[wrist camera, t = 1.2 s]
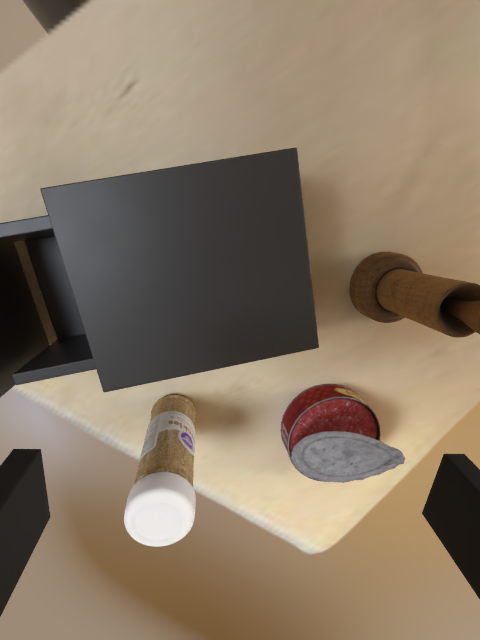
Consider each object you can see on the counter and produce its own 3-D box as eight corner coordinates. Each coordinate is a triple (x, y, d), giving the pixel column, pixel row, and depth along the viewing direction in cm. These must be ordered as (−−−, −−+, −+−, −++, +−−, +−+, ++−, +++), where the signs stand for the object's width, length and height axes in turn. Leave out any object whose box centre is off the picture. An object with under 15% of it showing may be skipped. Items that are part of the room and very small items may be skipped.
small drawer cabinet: (133, 341, 32) (103, 392, 22) (95, 204, 28) (39, 188, 18) (281, 312, 33) (319, 347, 23) (262, 176, 30) (297, 147, 19)
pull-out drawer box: (25, 359, 30) (-42, 408, 22) (-23, 230, 27) (-122, 229, 19) (186, 327, 31) (182, 362, 23) (158, 200, 28) (141, 186, 20)
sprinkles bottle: (204, 408, 35) (209, 513, 22) (177, 440, 35) (166, 560, 22) (168, 384, 33) (151, 479, 20) (141, 417, 34) (107, 530, 21)
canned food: (349, 408, 42) (405, 484, 35) (277, 444, 41) (321, 530, 34) (351, 352, 34) (424, 435, 27) (263, 394, 33) (315, 492, 26)
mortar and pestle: (341, 265, 32) (505, 303, 15) (403, 242, 33) (633, 254, 15) (357, 326, 34) (519, 422, 17) (415, 304, 35) (633, 377, 17)
